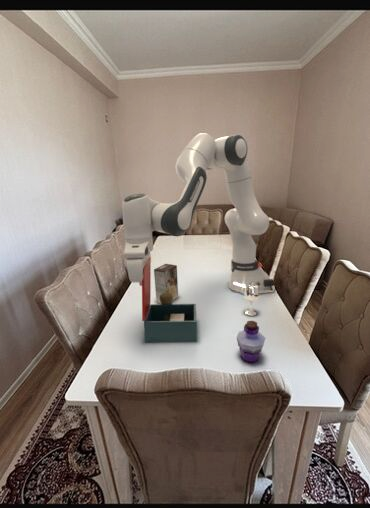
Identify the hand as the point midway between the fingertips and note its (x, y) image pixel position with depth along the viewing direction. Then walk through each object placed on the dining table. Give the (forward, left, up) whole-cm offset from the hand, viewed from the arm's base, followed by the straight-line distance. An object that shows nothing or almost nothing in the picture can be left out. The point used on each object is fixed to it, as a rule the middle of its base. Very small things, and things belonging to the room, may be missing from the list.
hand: (142, 284), depth 86 cm
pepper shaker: (-7, -8, -19) cm, 21 cm away
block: (-11, 0, -18) cm, 21 cm away
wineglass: (-40, -12, -19) cm, 46 cm away
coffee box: (-5, -25, -19) cm, 32 cm away
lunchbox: (-9, 0, -19) cm, 21 cm away
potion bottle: (-34, +14, -19) cm, 42 cm away
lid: (-2, 0, -1) cm, 2 cm away
